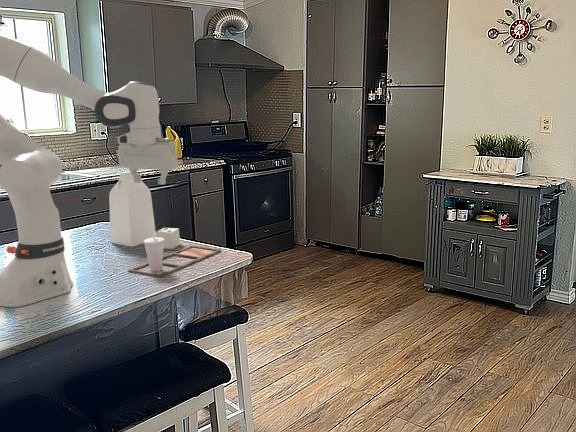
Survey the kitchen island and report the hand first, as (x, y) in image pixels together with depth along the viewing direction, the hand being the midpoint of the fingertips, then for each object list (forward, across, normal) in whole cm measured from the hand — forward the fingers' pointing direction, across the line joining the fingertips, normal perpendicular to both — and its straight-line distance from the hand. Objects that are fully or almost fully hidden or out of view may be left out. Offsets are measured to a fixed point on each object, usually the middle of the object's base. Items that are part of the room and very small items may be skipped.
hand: (149, 183), depth 174 cm
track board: (+27, 0, -10) cm, 29 cm away
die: (+27, +14, -24) cm, 39 cm away
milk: (+28, +31, -24) cm, 48 cm away
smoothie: (+27, 0, 0) cm, 27 cm away
